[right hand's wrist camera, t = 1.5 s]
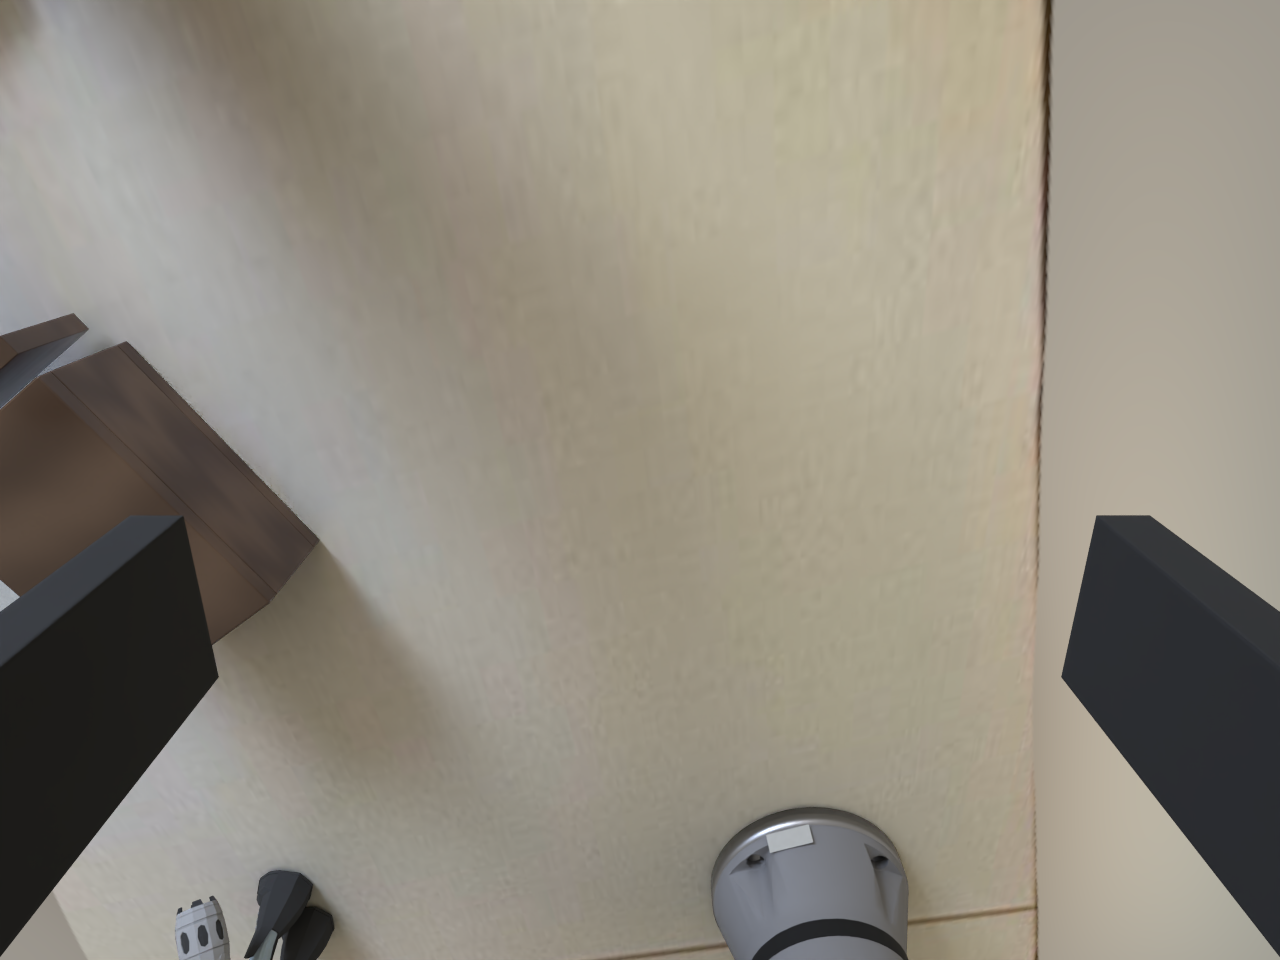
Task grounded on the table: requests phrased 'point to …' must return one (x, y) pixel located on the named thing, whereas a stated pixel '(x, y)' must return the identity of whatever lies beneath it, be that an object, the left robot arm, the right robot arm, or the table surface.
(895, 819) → the table surface
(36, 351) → the drawer
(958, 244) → the table surface
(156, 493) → the cabinet
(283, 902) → the robot
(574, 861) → the table surface
